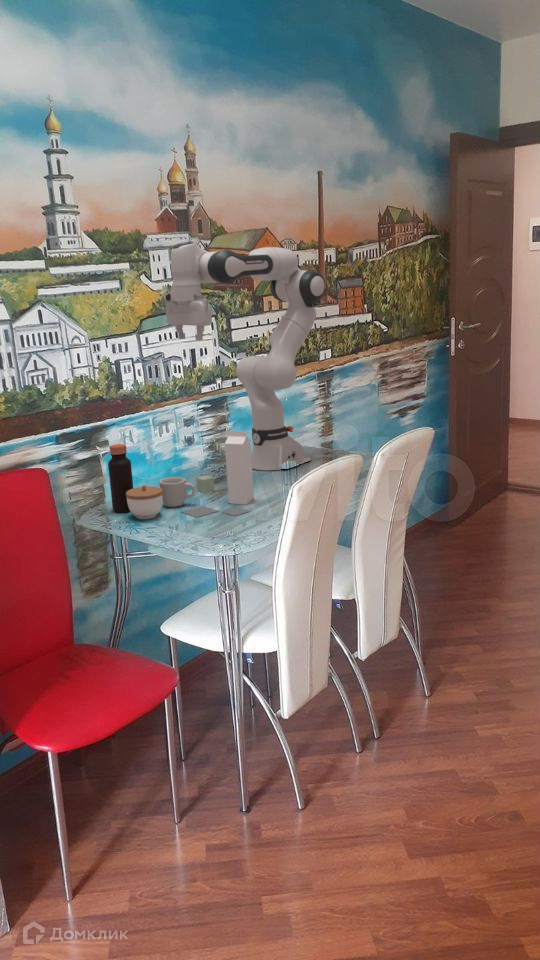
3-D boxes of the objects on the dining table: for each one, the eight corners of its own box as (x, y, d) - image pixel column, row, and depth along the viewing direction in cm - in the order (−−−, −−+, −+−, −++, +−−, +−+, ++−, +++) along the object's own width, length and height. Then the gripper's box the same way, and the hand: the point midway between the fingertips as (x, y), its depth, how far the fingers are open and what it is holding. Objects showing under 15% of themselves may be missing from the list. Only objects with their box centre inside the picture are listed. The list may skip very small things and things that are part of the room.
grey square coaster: (237, 507, 249) (237, 507, 249) (250, 511, 245) (250, 511, 245) (221, 512, 245) (221, 511, 245) (234, 516, 241) (234, 515, 241)
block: (207, 490, 270) (206, 475, 269) (214, 492, 267) (213, 477, 266) (197, 492, 268) (196, 478, 267) (204, 495, 265) (203, 480, 264)
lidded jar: (127, 523, 240) (124, 492, 237) (128, 512, 250) (125, 482, 248) (165, 519, 241) (162, 488, 239) (164, 509, 252) (161, 479, 249)
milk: (236, 498, 259) (232, 429, 254) (254, 499, 257) (250, 429, 252) (228, 503, 254) (223, 433, 248) (246, 504, 252) (242, 433, 246)
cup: (198, 501, 258) (196, 476, 256) (193, 508, 251) (191, 483, 249) (164, 501, 260) (162, 477, 258) (158, 509, 252) (156, 483, 250)
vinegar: (108, 512, 251) (101, 448, 246) (120, 506, 257) (113, 443, 252) (128, 513, 249) (121, 448, 244) (139, 507, 255) (133, 443, 250)
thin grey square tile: (202, 506, 252) (202, 505, 252) (218, 511, 247) (218, 510, 247) (181, 512, 248) (181, 511, 248) (196, 517, 242) (196, 517, 242)
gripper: (215, 294, 257) (218, 339, 260) (177, 294, 272) (180, 337, 275) (198, 296, 253) (201, 341, 256) (161, 296, 268) (164, 339, 271)
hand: (190, 339), depth 266 cm, fingers open, 8 cm apart
